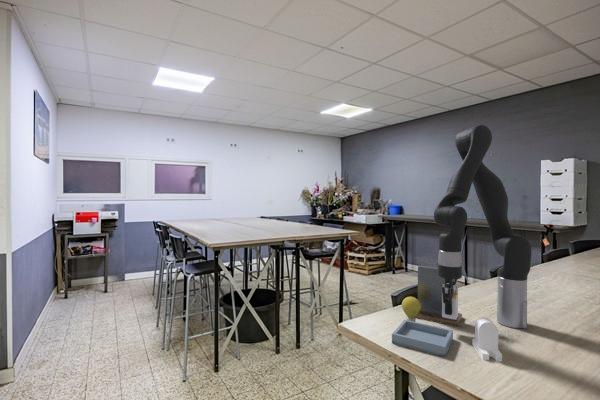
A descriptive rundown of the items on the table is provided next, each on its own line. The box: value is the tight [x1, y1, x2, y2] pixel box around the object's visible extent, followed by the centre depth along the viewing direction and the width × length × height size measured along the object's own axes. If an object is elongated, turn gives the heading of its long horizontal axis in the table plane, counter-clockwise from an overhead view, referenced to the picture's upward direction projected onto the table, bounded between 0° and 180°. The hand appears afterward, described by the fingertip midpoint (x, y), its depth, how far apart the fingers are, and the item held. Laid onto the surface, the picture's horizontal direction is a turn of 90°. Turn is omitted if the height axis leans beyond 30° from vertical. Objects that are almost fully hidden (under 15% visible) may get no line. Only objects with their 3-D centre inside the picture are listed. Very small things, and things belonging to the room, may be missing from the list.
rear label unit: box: [415, 264, 463, 327], centre depth 126 cm, size 16×10×20 cm, turn 56°
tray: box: [391, 319, 454, 358], centre depth 106 cm, size 16×14×3 cm
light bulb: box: [401, 296, 421, 322], centre depth 120 cm, size 7×7×10 cm
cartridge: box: [442, 292, 459, 320], centre depth 112 cm, size 4×4×8 cm
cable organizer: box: [471, 317, 503, 362], centre depth 98 cm, size 5×10×10 cm, turn 169°
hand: (449, 311), depth 112 cm, fingers closed on cartridge, 4 cm apart
